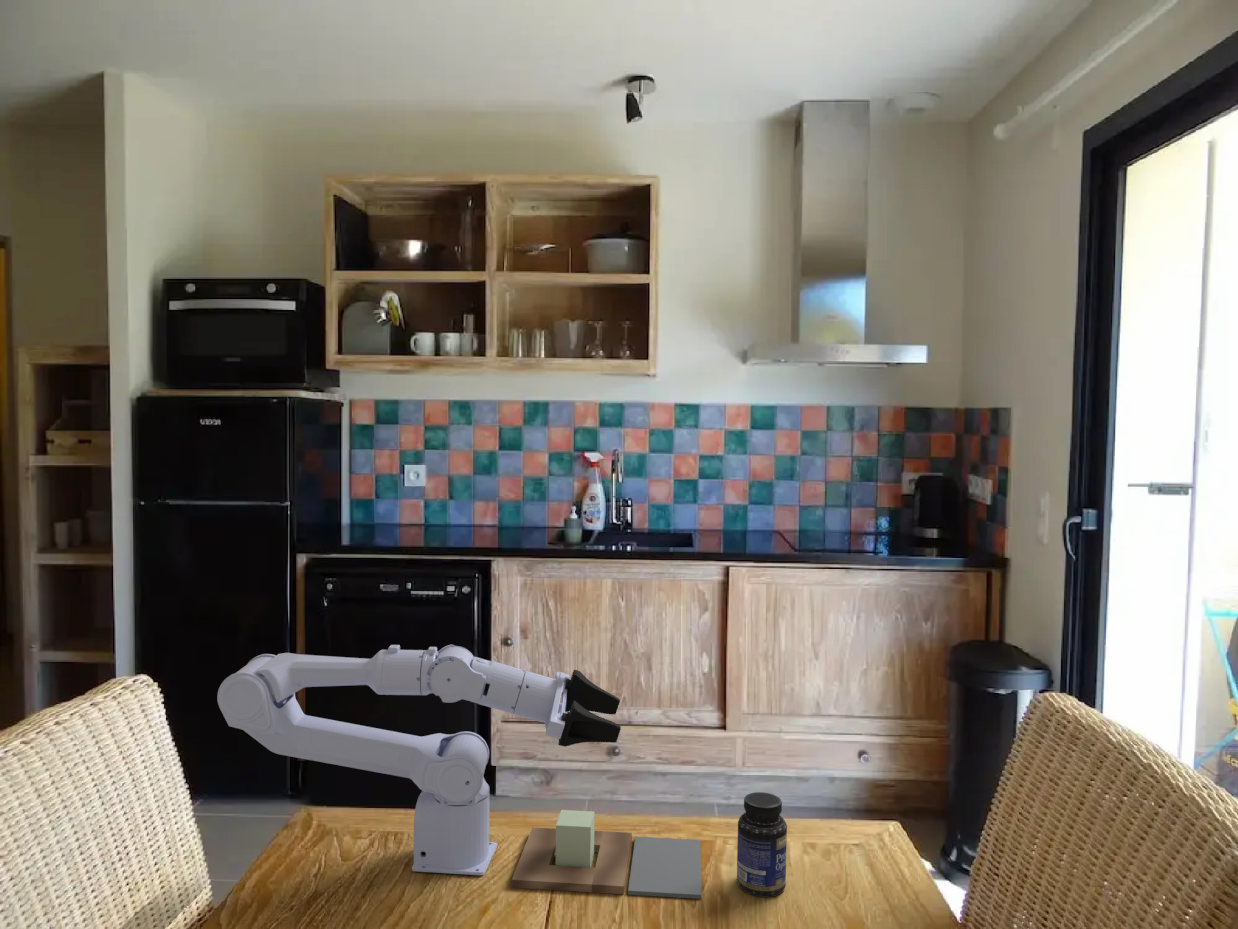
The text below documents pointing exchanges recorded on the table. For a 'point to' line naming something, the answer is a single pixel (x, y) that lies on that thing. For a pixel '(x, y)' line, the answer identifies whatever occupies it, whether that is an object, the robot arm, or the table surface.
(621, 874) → the pocket board
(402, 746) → the robot arm
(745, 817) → the pill bottle
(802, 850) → the table surface
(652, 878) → the mat
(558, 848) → the sage block
